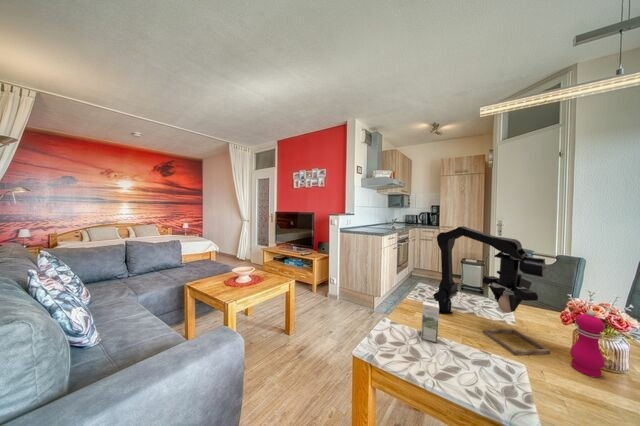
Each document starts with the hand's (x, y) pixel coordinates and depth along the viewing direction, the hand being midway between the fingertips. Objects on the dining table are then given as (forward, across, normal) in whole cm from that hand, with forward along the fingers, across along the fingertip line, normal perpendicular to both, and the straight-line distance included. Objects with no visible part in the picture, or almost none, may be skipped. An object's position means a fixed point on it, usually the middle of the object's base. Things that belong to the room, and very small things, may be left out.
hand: (506, 307), depth 90 cm
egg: (+2, 0, 0) cm, 2 cm away
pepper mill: (+12, -19, -10) cm, 25 cm away
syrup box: (+12, +1, +32) cm, 34 cm away
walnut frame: (+12, -4, 0) cm, 13 cm away
